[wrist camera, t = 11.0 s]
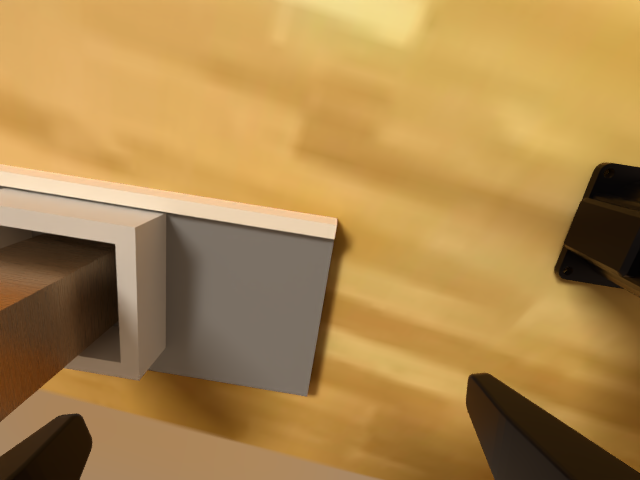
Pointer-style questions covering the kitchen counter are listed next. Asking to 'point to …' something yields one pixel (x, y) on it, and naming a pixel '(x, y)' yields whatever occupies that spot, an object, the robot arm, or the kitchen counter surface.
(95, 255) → the bar
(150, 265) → the grey socket base
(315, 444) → the kitchen counter surface
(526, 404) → the robot arm
